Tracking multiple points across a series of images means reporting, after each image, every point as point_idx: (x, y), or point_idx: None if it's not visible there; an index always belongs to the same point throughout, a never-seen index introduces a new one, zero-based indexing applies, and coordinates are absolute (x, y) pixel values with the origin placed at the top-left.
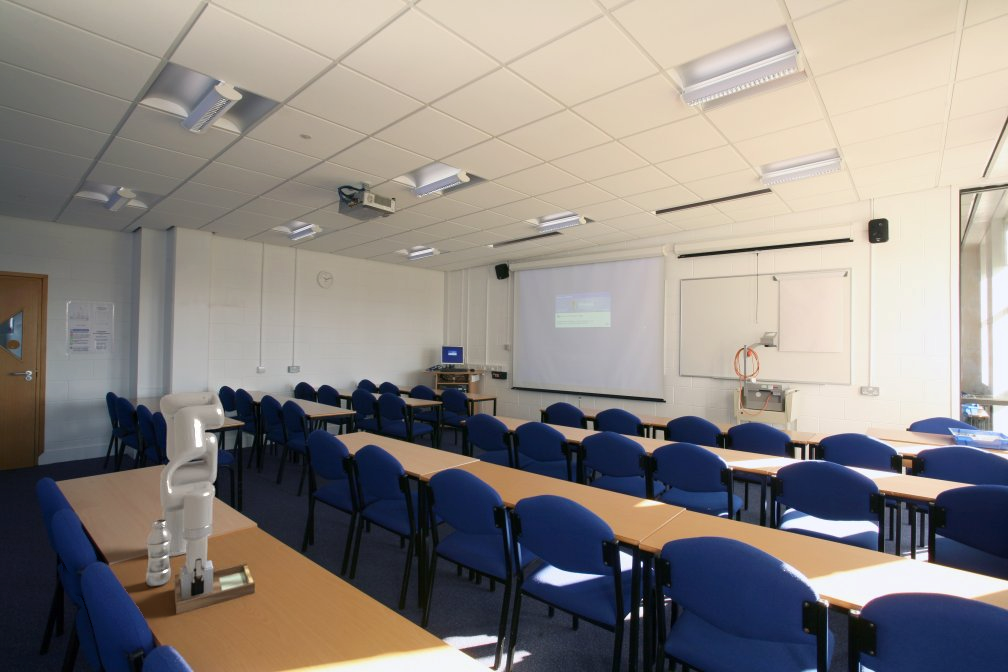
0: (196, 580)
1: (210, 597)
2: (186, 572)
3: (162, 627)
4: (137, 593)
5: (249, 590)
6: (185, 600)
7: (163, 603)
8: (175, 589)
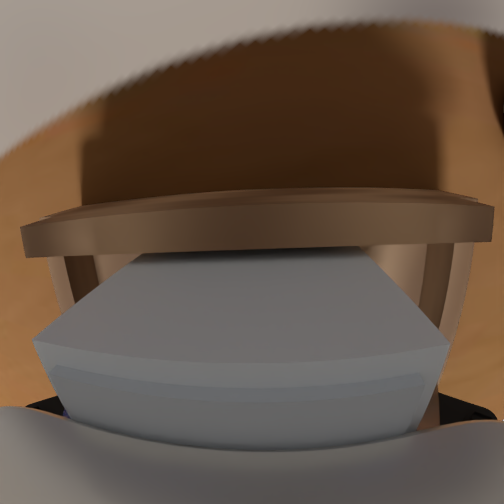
0: (55, 407)
1: None
2: (84, 416)
3: (16, 158)
4: (470, 26)
5: None
6: (62, 271)
7: (271, 116)
8: (268, 197)
